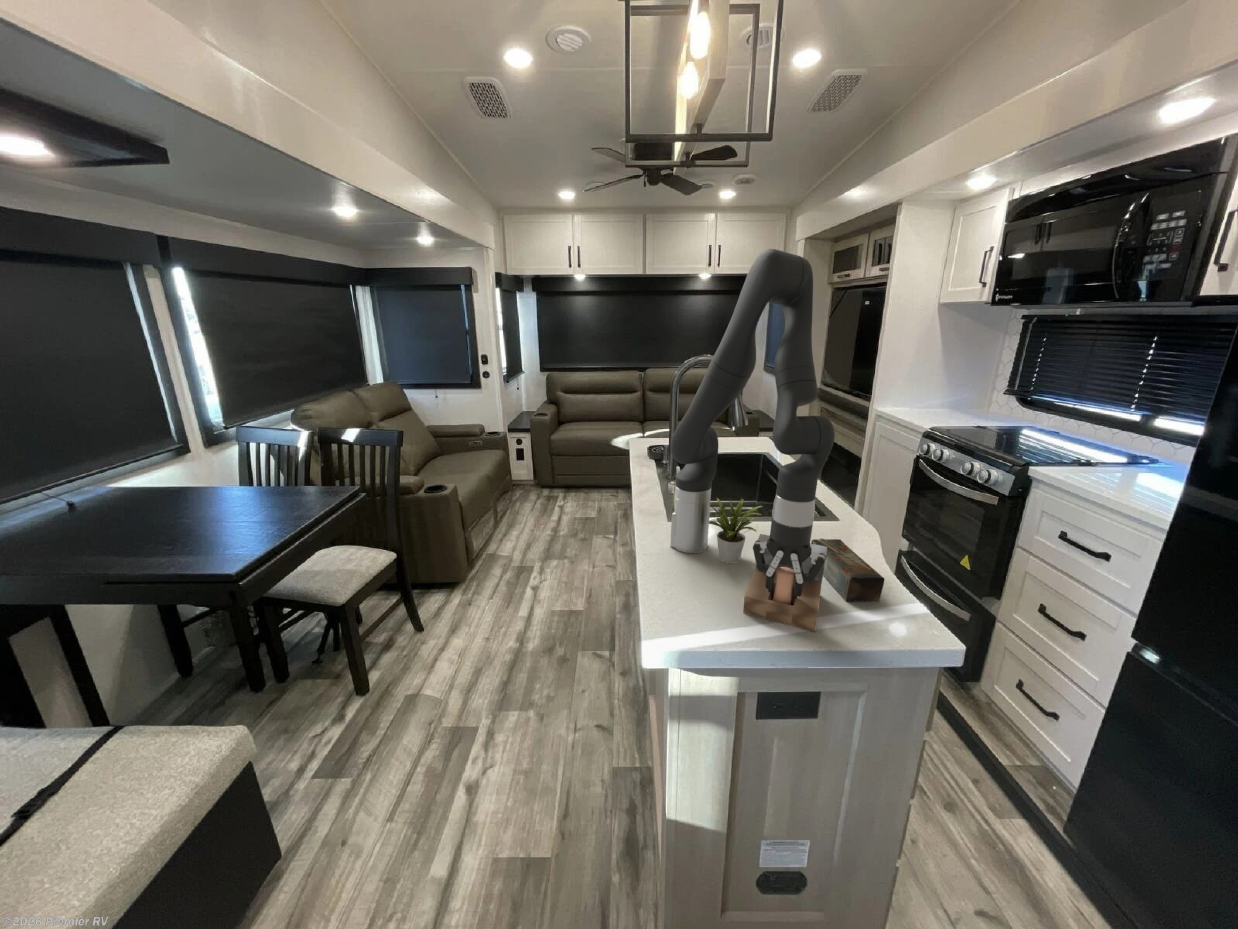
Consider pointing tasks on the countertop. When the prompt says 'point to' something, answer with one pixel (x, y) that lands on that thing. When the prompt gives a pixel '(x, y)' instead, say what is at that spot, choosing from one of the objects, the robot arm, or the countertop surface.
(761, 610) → the socket station
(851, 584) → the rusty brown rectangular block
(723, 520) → the house plant
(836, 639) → the countertop surface
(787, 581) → the peg
